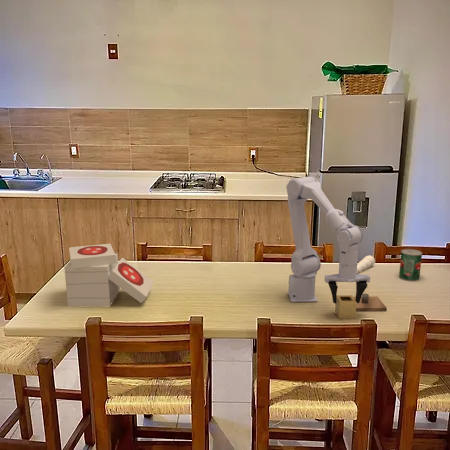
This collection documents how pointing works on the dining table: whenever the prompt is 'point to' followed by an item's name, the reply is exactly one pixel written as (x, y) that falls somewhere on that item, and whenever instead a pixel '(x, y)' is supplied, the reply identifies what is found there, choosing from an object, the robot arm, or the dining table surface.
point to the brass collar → (345, 307)
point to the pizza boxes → (101, 277)
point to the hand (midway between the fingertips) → (345, 302)
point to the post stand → (370, 304)
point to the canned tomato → (410, 265)
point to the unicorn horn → (365, 263)
